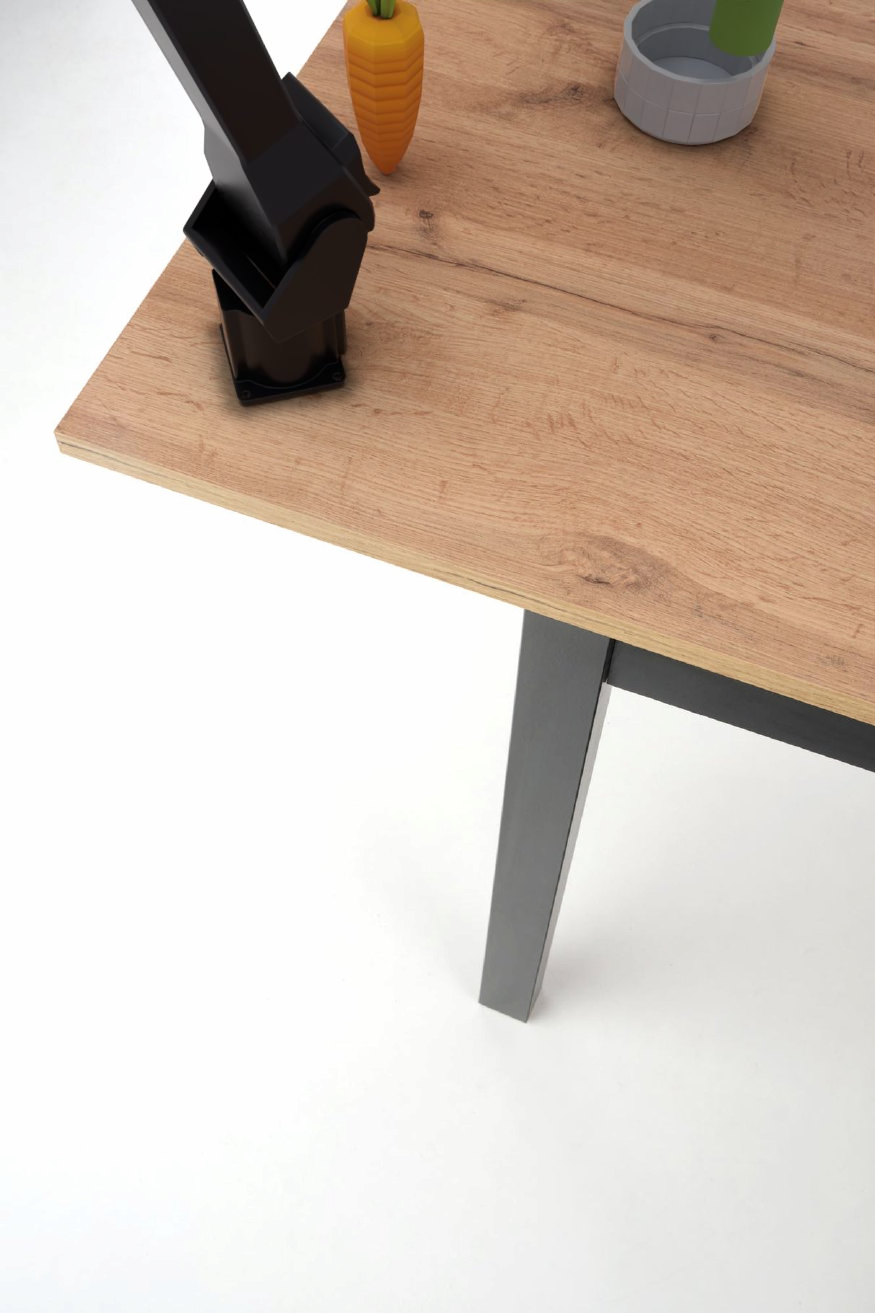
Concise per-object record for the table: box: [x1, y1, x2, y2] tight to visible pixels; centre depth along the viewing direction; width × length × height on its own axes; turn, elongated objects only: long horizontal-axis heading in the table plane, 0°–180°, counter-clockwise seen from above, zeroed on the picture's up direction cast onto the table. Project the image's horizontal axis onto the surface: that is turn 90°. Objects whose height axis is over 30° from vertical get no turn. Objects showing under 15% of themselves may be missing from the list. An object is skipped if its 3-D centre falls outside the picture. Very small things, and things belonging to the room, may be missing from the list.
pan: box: [613, 0, 777, 146], centre depth 80 cm, size 10×10×5 cm
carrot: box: [341, 0, 425, 175], centre depth 71 cm, size 5×5×15 cm
